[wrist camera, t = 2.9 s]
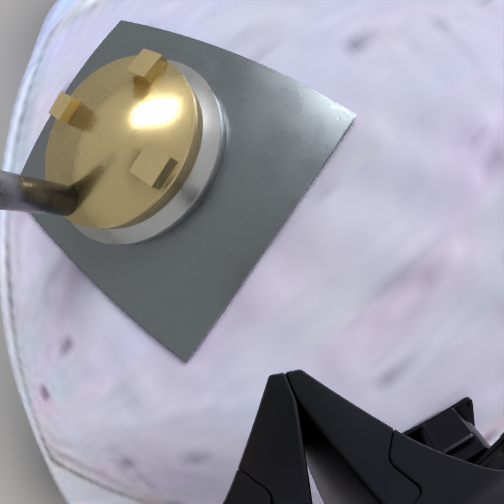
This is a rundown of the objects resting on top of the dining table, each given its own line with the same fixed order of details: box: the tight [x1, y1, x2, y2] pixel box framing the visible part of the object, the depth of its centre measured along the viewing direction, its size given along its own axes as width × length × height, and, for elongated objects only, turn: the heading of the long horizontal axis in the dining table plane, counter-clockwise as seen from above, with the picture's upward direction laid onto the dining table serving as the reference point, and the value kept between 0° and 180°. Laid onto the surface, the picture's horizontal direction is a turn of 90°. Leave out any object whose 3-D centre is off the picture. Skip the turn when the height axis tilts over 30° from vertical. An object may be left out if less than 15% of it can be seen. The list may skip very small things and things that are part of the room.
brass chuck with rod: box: [0, 49, 203, 229], centre depth 12 cm, size 12×12×12 cm
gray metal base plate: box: [21, 20, 356, 362], centre depth 19 cm, size 24×20×2 cm
